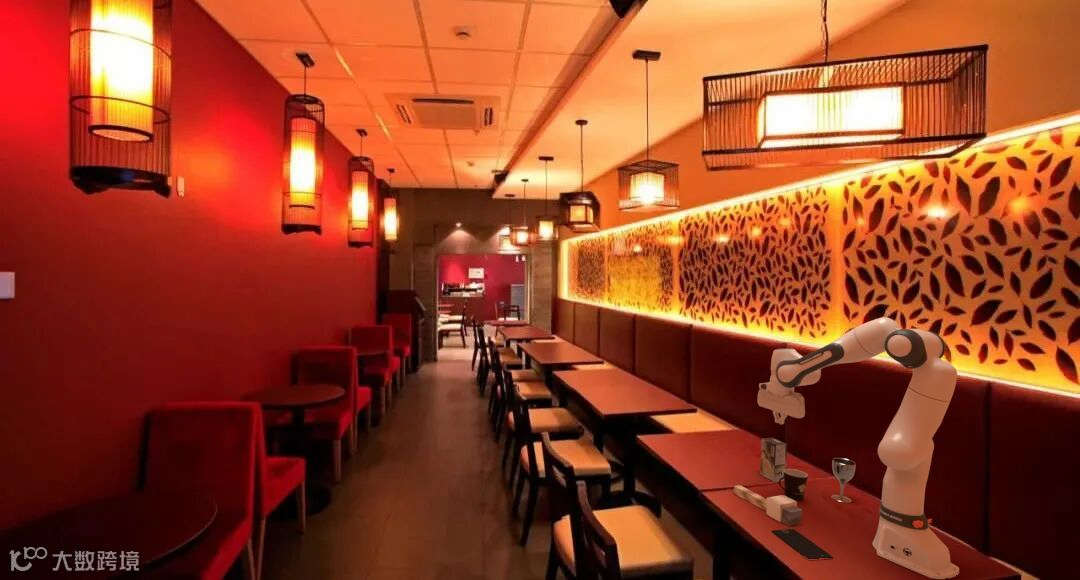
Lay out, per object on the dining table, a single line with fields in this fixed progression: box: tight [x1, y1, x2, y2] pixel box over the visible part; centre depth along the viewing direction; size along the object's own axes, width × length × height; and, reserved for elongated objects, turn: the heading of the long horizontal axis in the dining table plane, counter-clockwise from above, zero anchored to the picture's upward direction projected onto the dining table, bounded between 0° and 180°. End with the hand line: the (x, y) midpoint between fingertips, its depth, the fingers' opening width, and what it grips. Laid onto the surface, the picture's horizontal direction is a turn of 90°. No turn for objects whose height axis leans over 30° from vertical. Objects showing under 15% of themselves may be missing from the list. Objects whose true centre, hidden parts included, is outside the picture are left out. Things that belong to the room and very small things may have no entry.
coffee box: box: [759, 437, 788, 483], centre depth 228 cm, size 9×6×16 cm
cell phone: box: [771, 528, 834, 559], centre depth 170 cm, size 9×18×1 cm, turn 12°
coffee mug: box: [778, 468, 809, 503], centre depth 207 cm, size 12×9×10 cm
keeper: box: [765, 494, 798, 523], centre depth 189 cm, size 6×8×6 cm
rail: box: [733, 484, 803, 527], centre depth 196 cm, size 28×6×5 cm, turn 23°
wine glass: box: [830, 457, 856, 504], centre depth 209 cm, size 8×8×15 cm
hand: (779, 423), depth 207 cm, fingers closed
